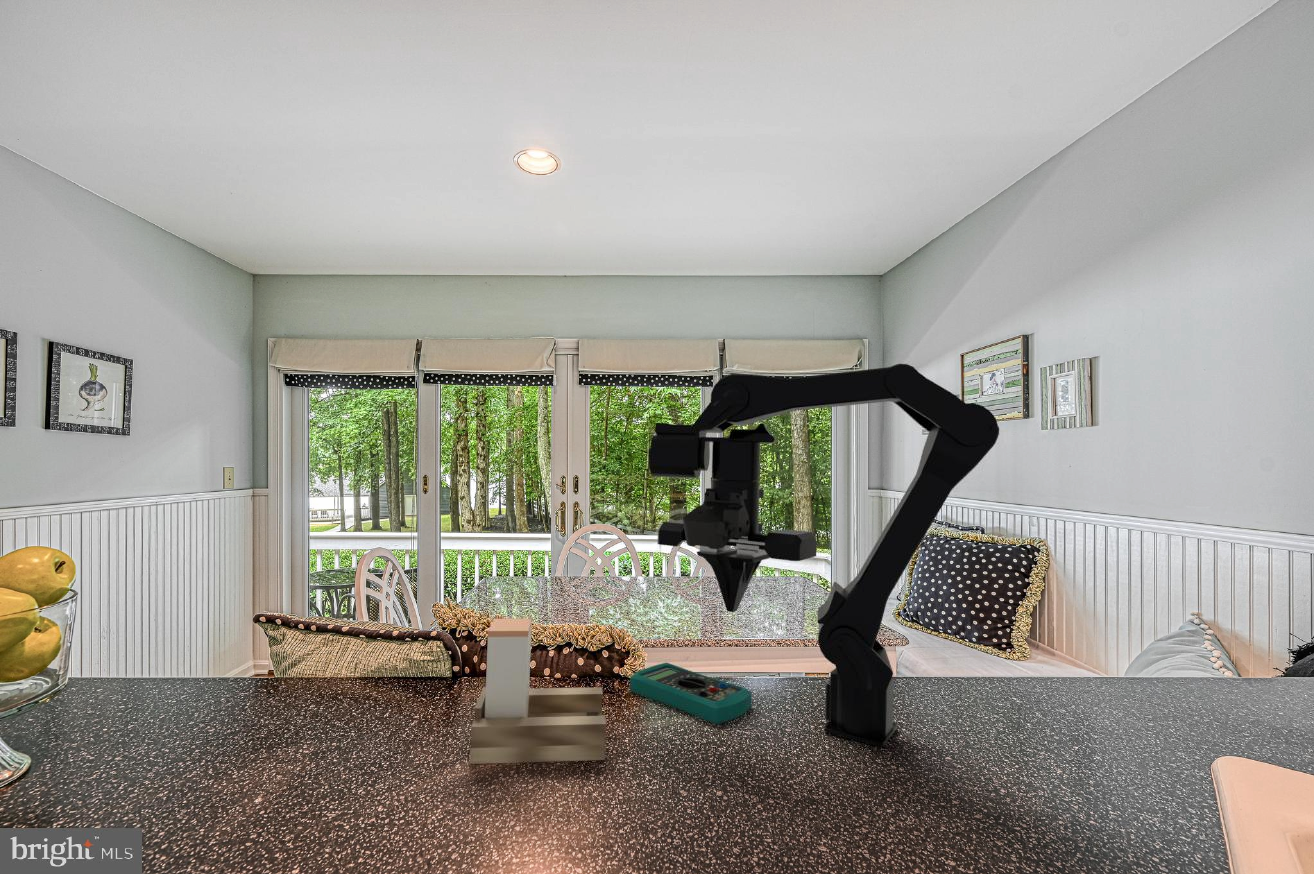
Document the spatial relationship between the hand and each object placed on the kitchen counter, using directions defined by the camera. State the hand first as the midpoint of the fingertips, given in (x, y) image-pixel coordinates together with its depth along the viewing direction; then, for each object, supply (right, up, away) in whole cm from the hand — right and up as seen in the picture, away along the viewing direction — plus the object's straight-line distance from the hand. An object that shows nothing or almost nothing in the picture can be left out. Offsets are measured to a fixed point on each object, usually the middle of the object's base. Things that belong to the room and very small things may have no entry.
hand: (731, 611), depth 75 cm
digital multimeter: (-5, -13, +4) cm, 14 cm away
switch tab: (-25, -9, -9) cm, 28 cm away
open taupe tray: (-21, -11, -9) cm, 25 cm away
